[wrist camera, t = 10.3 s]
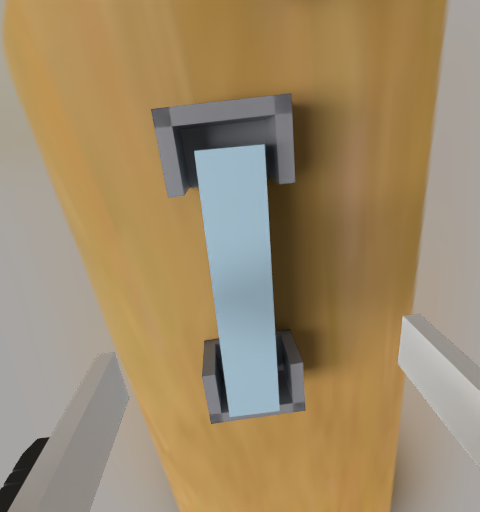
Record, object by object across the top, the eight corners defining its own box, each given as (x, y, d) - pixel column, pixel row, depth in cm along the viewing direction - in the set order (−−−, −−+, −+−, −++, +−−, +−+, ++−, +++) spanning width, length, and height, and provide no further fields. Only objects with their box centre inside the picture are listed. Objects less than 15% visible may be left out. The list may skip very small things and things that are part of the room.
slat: (199, 149, 22) (194, 151, 17) (254, 144, 22) (264, 144, 17) (227, 372, 29) (229, 417, 24) (269, 367, 29) (279, 410, 24)
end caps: (164, 116, 21) (151, 109, 17) (276, 103, 22) (291, 93, 17) (212, 383, 30) (211, 423, 25) (292, 372, 30) (305, 410, 26)
